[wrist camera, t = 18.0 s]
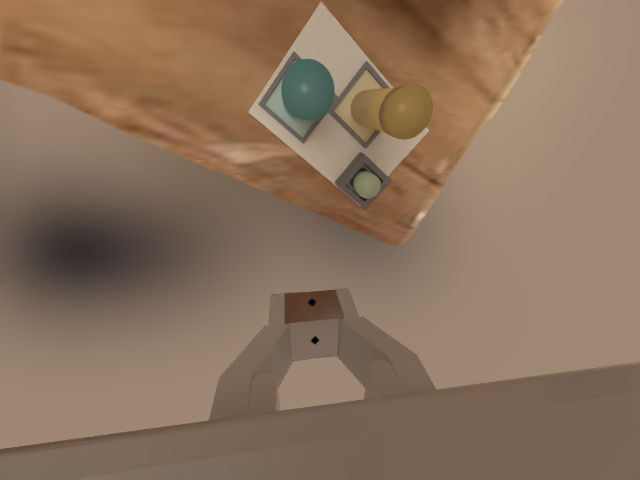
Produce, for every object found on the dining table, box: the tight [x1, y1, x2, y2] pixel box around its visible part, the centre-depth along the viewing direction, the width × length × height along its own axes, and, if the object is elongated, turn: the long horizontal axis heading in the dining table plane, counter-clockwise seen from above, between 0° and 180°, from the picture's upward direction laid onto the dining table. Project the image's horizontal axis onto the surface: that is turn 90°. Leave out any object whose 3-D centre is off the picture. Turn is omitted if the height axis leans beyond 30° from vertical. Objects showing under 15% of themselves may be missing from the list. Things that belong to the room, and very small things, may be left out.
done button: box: [350, 168, 381, 199], centre depth 35 cm, size 3×3×4 cm
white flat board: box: [248, 2, 429, 209], centre depth 32 cm, size 14×20×4 cm
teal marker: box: [281, 59, 335, 121], centre depth 25 cm, size 4×4×12 cm
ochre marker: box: [351, 85, 432, 140], centre depth 27 cm, size 4×4×12 cm
